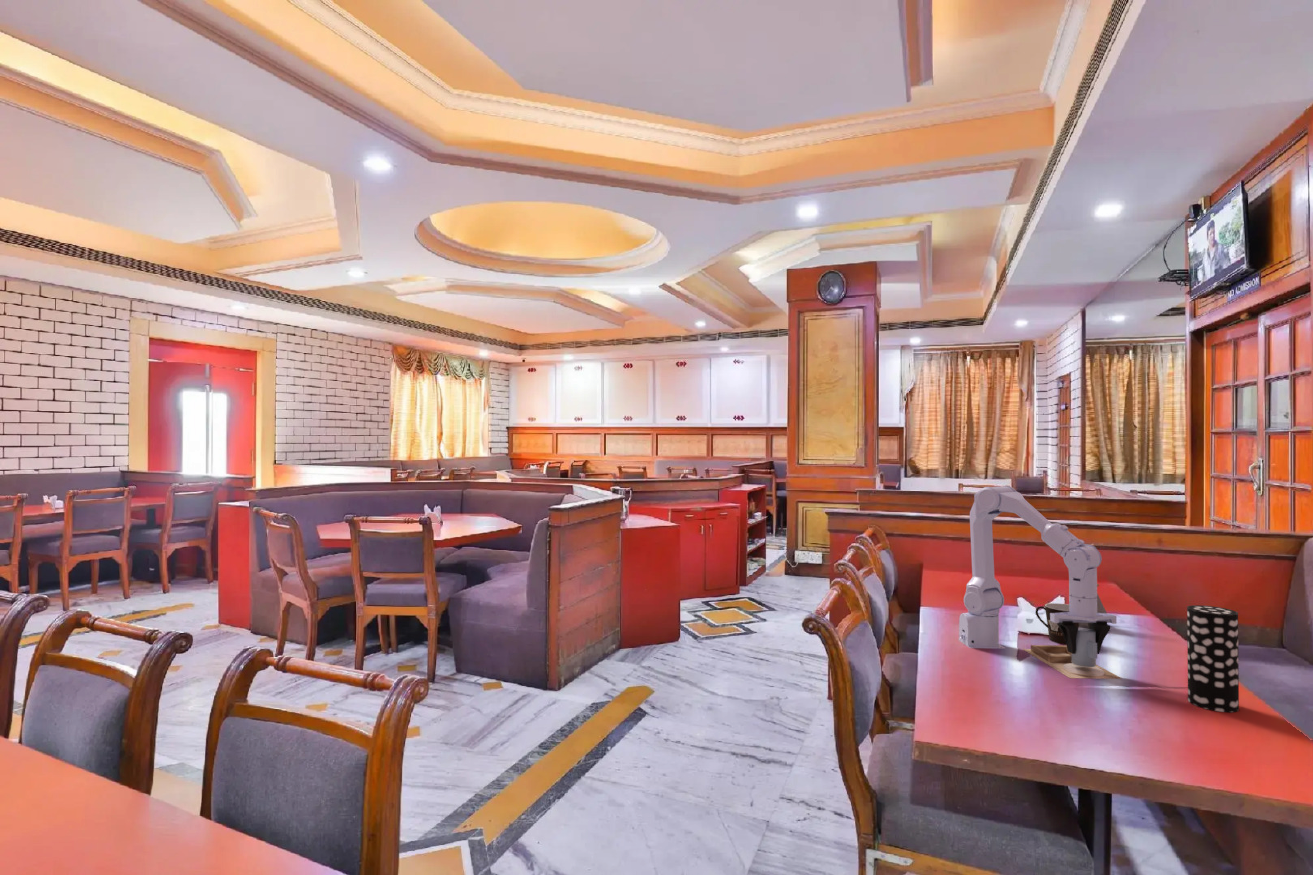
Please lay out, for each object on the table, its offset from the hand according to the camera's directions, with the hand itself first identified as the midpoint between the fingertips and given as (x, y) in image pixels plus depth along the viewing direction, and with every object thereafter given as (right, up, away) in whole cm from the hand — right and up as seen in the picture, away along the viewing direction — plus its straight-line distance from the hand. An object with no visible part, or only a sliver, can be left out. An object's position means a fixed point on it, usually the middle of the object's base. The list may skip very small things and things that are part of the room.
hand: (1083, 652), depth 161 cm
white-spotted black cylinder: (+15, -5, -19) cm, 25 cm away
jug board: (0, -5, +6) cm, 8 cm away
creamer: (0, -3, 0) cm, 3 cm away
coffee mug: (+10, -6, +26) cm, 28 cm away
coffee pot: (+26, -6, +38) cm, 47 cm away
